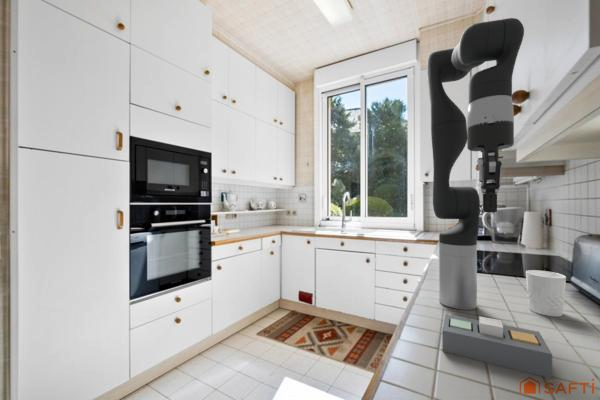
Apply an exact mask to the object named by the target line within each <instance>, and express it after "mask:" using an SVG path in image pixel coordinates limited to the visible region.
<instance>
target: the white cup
mask: <svg viewBox="0 0 600 400" xmlns="http://www.w3.org/2000/svg"><path fill="white" fill-rule="evenodd" d="M525 280H526V294H527V300H528V301H527V303H528V309H529V310H530V311H532V312H533V313H535V314H539V315H542V316H547V317H562V316H564V305H565V297H566V280H567V276H566V275H564V274H562V273H558V272H553V271H548V270H536V269H530V270H529V269H528V270H526V271H525Z"/></svg>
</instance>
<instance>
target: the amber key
mask: <svg viewBox="0 0 600 400" xmlns="http://www.w3.org/2000/svg"><path fill="white" fill-rule="evenodd" d="M510 338H511V340H515V341H519V342H524V343H529V344H534V345H539V343H538V341H537V339H536V337H535V335H533V334H528V333H523V332H518V331H513V330H510Z"/></svg>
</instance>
